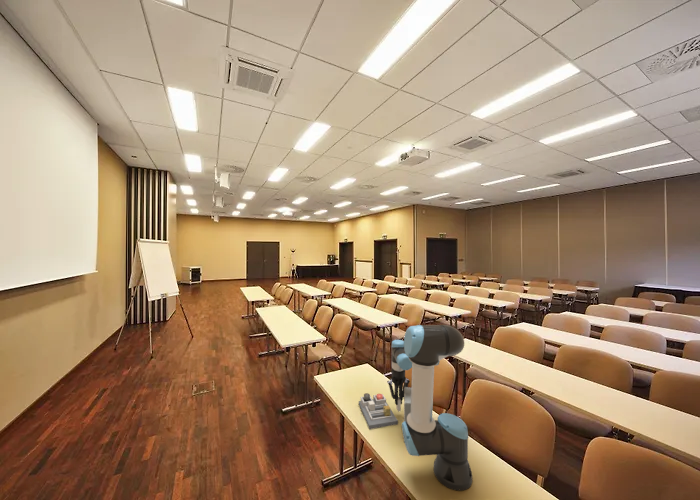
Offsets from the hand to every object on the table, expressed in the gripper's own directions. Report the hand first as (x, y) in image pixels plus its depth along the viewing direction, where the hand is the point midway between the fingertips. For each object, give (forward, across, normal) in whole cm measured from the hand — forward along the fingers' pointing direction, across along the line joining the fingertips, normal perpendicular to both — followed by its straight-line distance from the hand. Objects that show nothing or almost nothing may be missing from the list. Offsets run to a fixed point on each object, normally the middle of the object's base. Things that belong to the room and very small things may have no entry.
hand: (398, 409), depth 148 cm
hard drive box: (+4, -1, +14) cm, 15 cm away
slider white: (+2, +14, -6) cm, 15 cm away
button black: (-1, +15, -12) cm, 19 cm away
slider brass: (+2, +7, 0) cm, 7 cm away
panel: (+4, +11, -5) cm, 13 cm away
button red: (+1, +7, -12) cm, 14 cm away
